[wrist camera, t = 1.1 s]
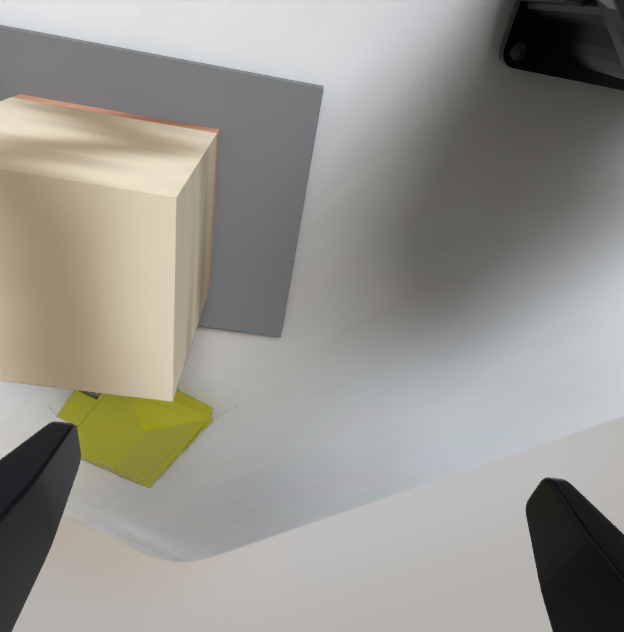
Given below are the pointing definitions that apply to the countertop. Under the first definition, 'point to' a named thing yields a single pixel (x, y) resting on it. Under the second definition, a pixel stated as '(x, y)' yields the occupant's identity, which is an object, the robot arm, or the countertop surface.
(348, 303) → the countertop surface
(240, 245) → the charcoal mat
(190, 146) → the birch cube
